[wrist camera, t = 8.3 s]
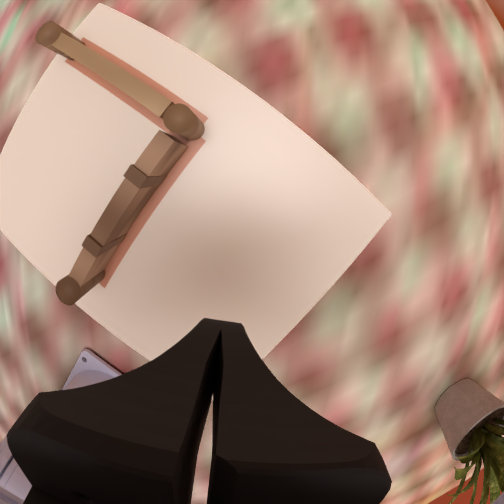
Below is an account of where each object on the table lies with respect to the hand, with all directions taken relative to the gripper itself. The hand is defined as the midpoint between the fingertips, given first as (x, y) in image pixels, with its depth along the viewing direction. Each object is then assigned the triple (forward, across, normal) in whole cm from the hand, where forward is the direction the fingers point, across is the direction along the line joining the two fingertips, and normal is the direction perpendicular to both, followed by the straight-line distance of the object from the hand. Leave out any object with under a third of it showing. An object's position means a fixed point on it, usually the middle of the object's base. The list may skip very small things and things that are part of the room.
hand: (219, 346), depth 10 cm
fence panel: (+9, +7, -2) cm, 12 cm away
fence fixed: (+10, +9, -11) cm, 17 cm away
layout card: (+10, +6, -3) cm, 12 cm away
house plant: (+10, -23, +12) cm, 28 cm away
